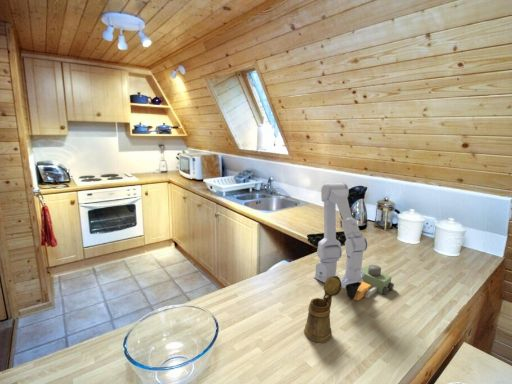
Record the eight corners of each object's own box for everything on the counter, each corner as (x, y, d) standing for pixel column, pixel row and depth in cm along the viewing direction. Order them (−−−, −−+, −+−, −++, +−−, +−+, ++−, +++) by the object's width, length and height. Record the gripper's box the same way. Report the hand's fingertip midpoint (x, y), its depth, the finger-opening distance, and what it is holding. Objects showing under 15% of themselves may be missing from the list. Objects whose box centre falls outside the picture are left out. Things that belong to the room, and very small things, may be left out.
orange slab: (359, 301, 114) (360, 291, 113) (346, 295, 119) (347, 285, 118) (369, 294, 120) (370, 285, 119) (356, 288, 124) (357, 279, 123)
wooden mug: (345, 329, 99) (349, 280, 95) (319, 347, 91) (323, 295, 87) (323, 316, 106) (327, 270, 102) (298, 331, 97) (301, 282, 93)
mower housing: (376, 302, 115) (378, 282, 113) (343, 287, 125) (345, 269, 123) (393, 288, 125) (395, 270, 123) (362, 276, 135) (364, 259, 133)
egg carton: (302, 240, 179) (303, 234, 178) (339, 233, 192) (340, 227, 192) (321, 251, 163) (322, 245, 163) (360, 242, 177) (360, 236, 176)
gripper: (353, 276, 105) (349, 309, 107) (372, 264, 114) (369, 295, 117) (336, 268, 110) (333, 301, 113) (356, 258, 119) (353, 288, 122)
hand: (350, 297), depth 115 cm, fingers closed
